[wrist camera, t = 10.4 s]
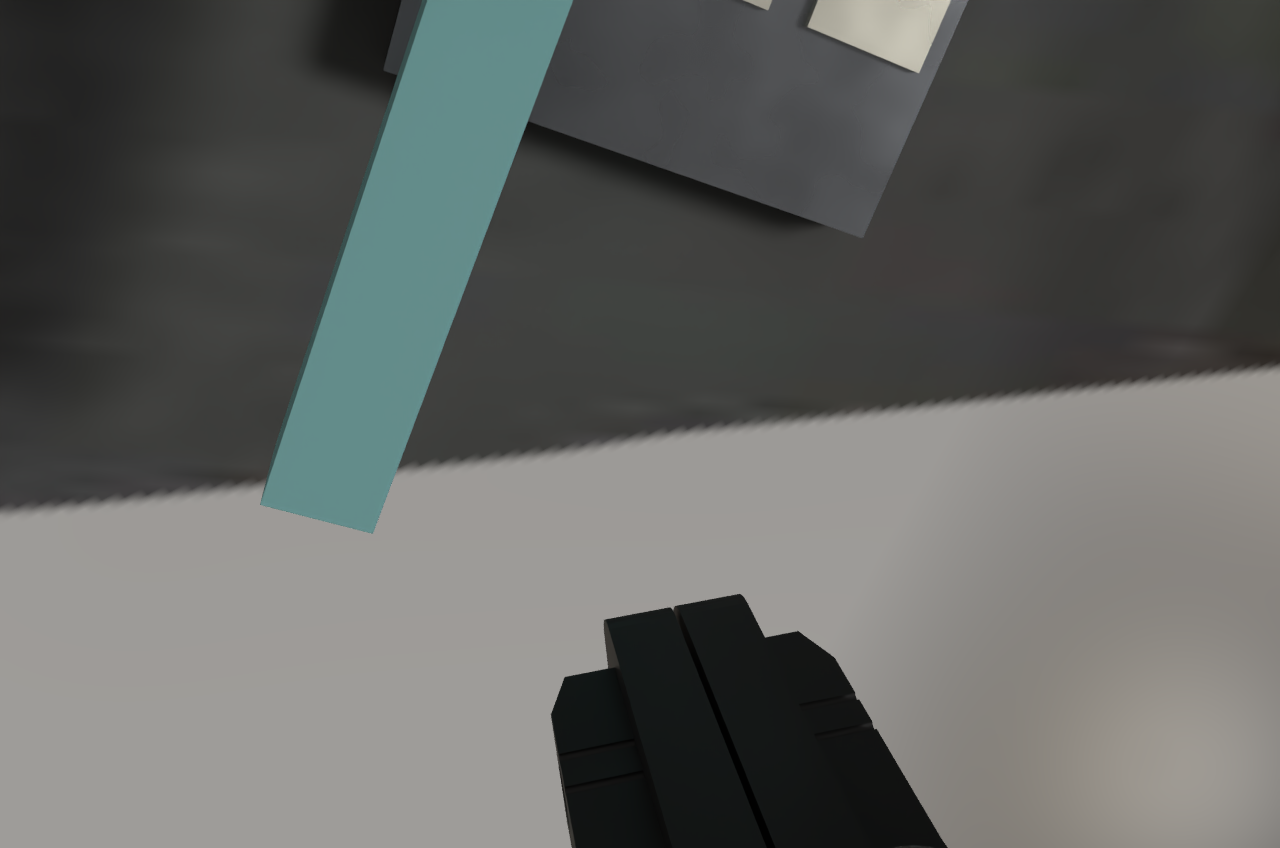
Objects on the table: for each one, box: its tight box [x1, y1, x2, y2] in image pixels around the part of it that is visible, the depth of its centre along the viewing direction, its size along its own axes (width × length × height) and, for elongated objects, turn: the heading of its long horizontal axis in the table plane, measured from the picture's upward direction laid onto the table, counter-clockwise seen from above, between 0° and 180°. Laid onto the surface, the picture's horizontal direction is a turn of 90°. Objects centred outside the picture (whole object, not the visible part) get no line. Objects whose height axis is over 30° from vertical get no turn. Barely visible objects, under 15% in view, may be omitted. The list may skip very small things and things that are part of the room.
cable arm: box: [260, 0, 573, 533], centre depth 16 cm, size 4×15×6 cm, turn 156°
